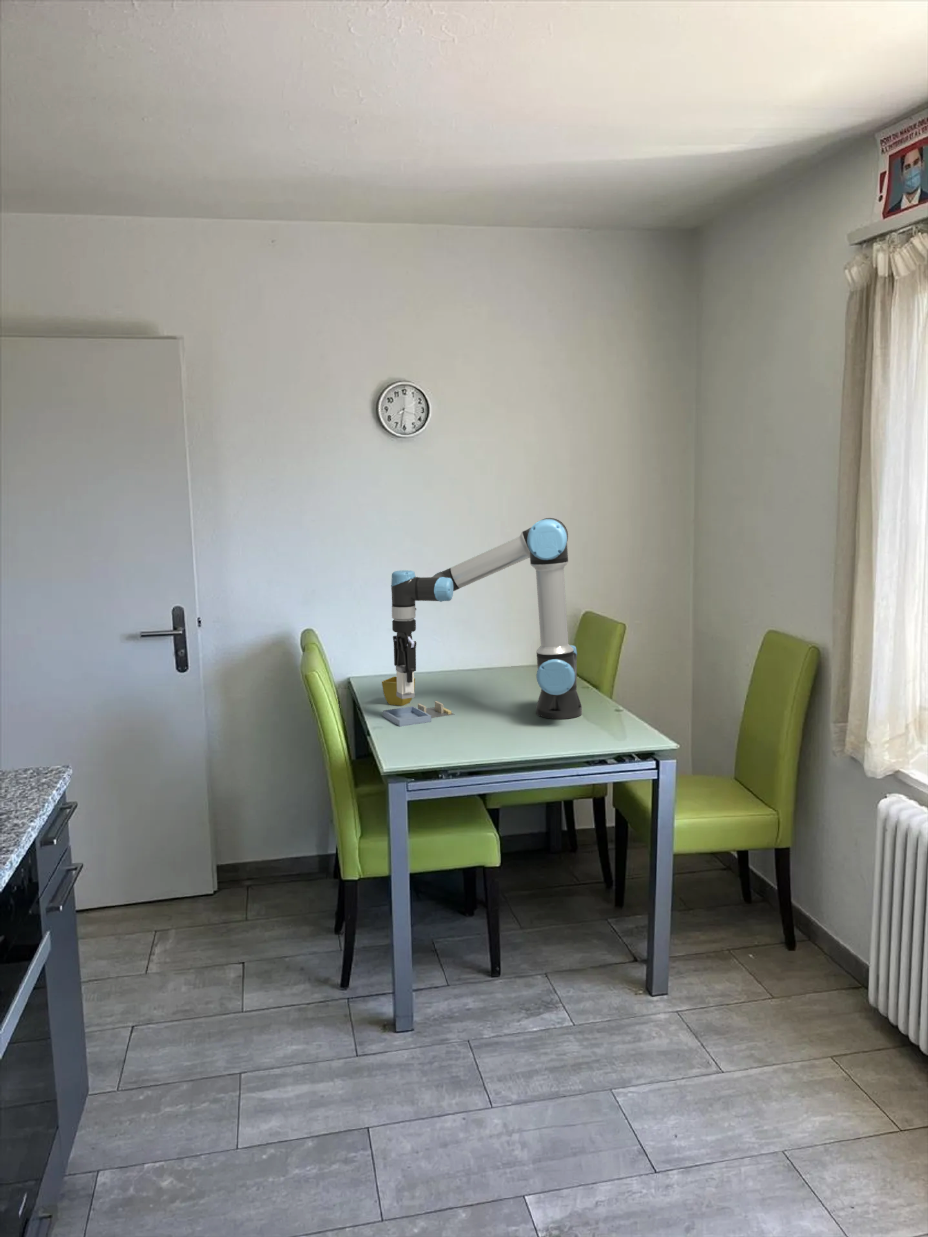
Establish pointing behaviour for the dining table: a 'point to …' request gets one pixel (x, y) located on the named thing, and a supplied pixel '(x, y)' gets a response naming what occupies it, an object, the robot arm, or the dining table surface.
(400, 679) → the block
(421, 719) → the tray
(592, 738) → the dining table surface
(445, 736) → the dining table surface
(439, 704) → the block
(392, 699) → the flower pot
